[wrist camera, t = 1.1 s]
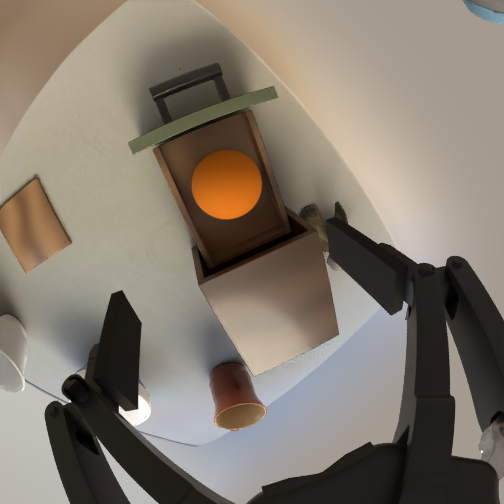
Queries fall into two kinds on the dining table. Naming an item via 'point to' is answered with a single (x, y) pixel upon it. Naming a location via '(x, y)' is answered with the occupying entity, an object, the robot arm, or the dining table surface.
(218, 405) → the mug
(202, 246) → the drawer
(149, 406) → the bowl
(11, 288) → the dining table surface
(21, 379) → the teacup
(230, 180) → the orange
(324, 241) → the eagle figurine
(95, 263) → the dining table surface
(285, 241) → the cabinet
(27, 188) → the coaster
